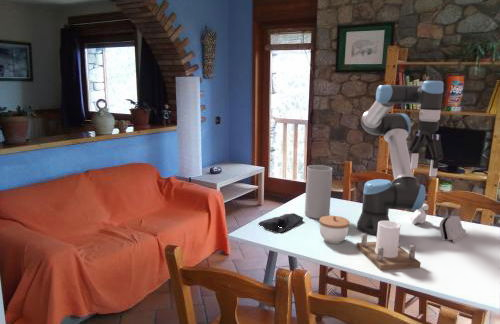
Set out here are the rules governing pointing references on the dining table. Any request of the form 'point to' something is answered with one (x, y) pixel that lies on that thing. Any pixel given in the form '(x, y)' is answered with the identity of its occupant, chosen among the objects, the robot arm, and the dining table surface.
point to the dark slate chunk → (281, 222)
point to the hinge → (451, 228)
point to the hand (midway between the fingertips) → (422, 172)
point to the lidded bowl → (333, 228)
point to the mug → (388, 238)
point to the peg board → (384, 263)
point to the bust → (419, 215)
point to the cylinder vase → (318, 191)
